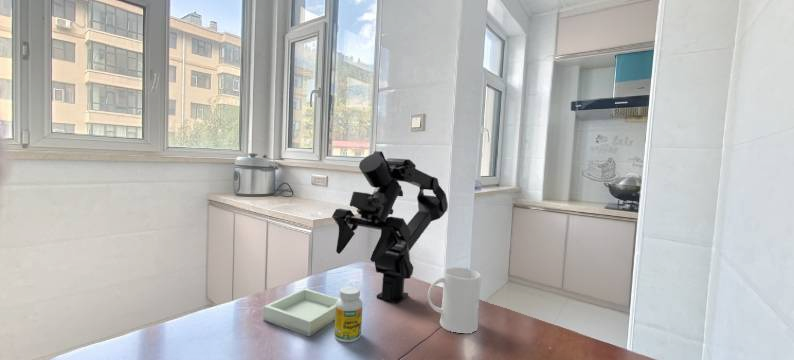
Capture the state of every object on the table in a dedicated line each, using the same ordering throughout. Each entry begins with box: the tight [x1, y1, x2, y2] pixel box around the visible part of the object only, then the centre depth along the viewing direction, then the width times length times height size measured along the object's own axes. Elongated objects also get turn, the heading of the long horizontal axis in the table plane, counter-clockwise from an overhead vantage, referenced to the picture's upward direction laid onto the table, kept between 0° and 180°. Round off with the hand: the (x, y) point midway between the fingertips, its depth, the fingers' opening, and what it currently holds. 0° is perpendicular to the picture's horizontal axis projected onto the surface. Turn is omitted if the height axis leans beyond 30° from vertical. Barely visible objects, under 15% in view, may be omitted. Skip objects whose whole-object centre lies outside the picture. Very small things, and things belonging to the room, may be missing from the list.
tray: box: [263, 287, 340, 337], centre depth 75 cm, size 13×13×3 cm
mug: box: [427, 266, 482, 334], centre depth 76 cm, size 12×8×12 cm
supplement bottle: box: [334, 286, 364, 343], centre depth 68 cm, size 5×5×10 cm
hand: (354, 256), depth 73 cm, fingers open, 9 cm apart
